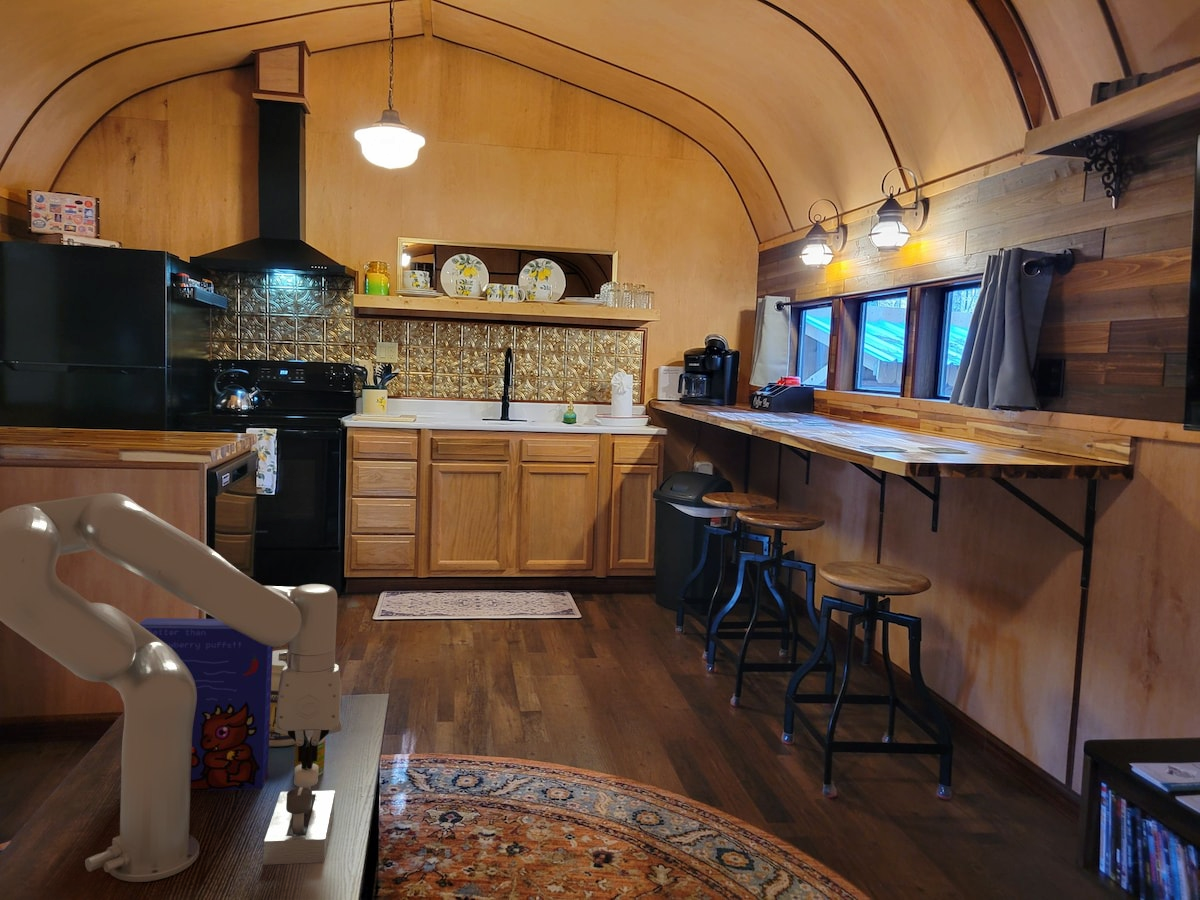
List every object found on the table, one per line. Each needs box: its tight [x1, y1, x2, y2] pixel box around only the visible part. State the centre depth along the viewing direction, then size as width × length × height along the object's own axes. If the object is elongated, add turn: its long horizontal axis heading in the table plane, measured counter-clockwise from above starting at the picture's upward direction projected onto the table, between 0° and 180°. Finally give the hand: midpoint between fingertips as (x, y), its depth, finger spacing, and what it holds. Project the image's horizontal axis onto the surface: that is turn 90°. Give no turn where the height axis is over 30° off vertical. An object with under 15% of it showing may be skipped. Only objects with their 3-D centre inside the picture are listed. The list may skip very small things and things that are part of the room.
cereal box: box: [138, 617, 274, 792], centre depth 158 cm, size 22×6×30 cm, turn 101°
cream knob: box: [293, 764, 319, 791], centre depth 147 cm, size 4×4×6 cm
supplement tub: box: [269, 649, 296, 748], centre depth 180 cm, size 12×12×17 cm
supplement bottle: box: [293, 730, 326, 777], centre depth 165 cm, size 5×5×10 cm
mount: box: [262, 790, 336, 866], centre depth 143 cm, size 16×9×4 cm, turn 11°
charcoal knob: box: [286, 786, 313, 836], centre depth 139 cm, size 4×4×6 cm
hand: (307, 765), depth 147 cm, fingers closed
